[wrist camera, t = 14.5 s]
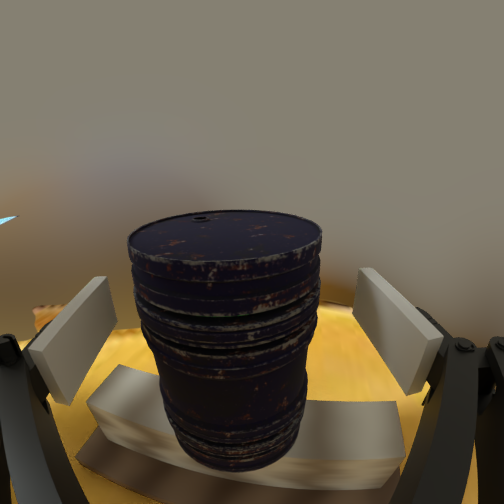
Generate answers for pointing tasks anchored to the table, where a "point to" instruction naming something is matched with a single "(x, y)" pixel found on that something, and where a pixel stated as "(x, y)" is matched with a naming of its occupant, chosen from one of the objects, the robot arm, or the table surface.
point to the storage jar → (229, 328)
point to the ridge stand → (247, 483)
